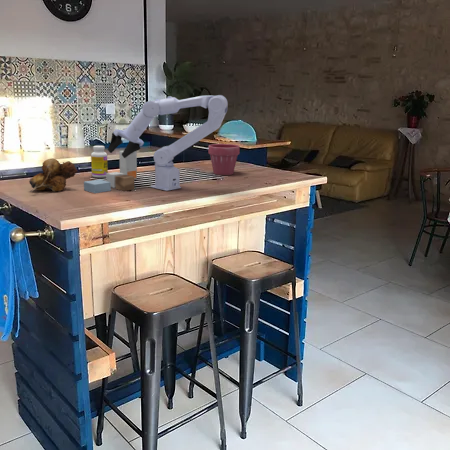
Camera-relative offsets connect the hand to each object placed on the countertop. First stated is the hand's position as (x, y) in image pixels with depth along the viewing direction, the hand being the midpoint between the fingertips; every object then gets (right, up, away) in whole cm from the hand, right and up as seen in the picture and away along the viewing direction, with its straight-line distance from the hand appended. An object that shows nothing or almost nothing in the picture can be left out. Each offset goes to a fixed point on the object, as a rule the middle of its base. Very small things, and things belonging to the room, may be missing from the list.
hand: (116, 153), depth 194 cm
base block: (-6, -15, -6) cm, 17 cm away
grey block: (-1, -12, +2) cm, 13 cm away
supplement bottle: (-11, -7, +20) cm, 24 cm away
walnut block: (+4, -14, -3) cm, 15 cm away
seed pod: (-23, -15, -8) cm, 28 cm away
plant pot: (+41, -4, +35) cm, 54 cm away
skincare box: (+2, -9, +15) cm, 18 cm away
